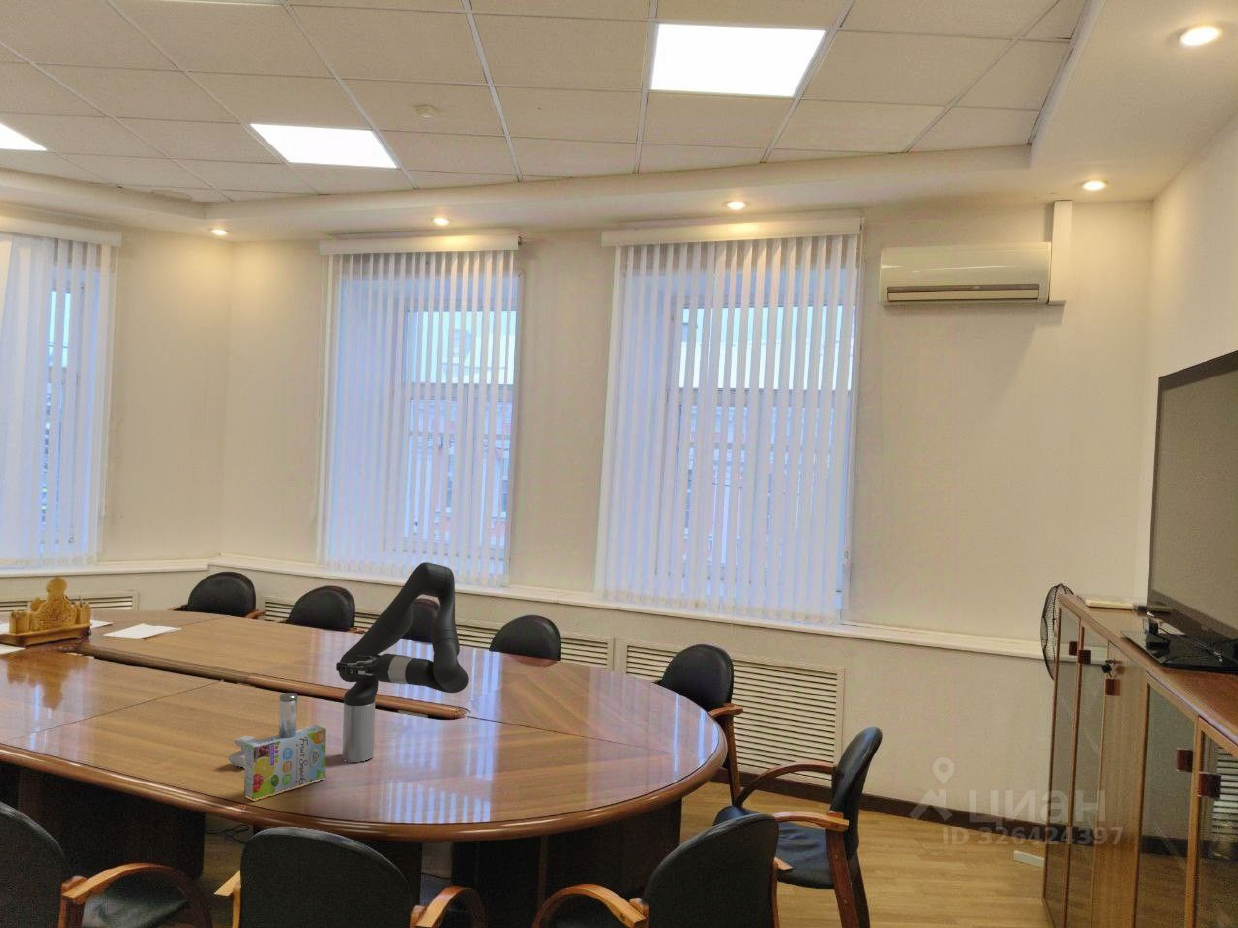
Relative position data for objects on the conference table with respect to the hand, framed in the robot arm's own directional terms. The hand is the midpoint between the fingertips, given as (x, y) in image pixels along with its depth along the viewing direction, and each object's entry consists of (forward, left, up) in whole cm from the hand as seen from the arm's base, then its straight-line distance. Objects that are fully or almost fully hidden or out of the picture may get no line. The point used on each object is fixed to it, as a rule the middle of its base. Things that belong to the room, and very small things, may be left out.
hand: (346, 662), depth 226 cm
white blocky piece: (-26, -28, -36) cm, 53 cm away
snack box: (-6, -15, -36) cm, 40 cm away
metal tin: (-6, -15, -21) cm, 27 cm away
